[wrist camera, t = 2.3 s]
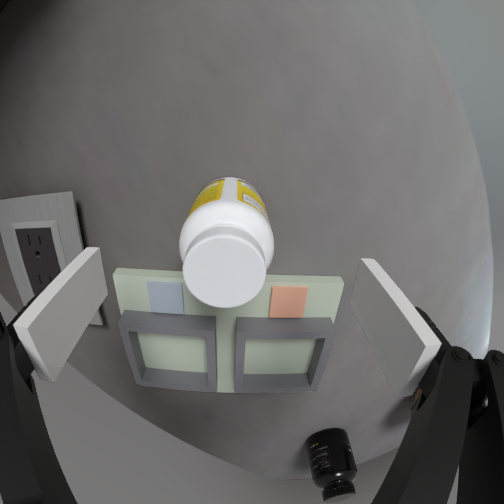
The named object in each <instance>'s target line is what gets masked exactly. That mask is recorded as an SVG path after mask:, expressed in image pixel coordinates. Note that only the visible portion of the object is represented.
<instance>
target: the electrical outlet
mask: <svg viewBox="0 0 504 504" xmlns="http://www.w3.org/2000/svg"><path fill="white" fill-rule="evenodd" d="M0 232H1V236H2V240H3V244H4V248H5V251H6V255H7V258H8V262H9V265H10V268H11V271H12V274H13V277H14V280H15V283H16V286H17V289H18V292H19V294H20V297H21V300H22V302H23V305H24V306H25V305H27V303H28V302H29V301H30V300H31V299H32V298H33V297H34V296H36V295H37V294H39V293H40V292H43V291H44V289H45V288H46V287H47V286H48V285H49V284H50V283H51V282H52V281H53V280H54V279H55V278H56V277H57V276H58V275H59V274H60V273H61V272H62V271H63V270H64V269H65V268H66V267H67V266H68V265H69V264H70V263H71V262H72V261H73V260H74V259H75V258H76V257H77V256H78V255H79V254H80V253H81V252H82V251H84V247H83V242H82V237H81V232H80V226H79V220H78V214H77V208H76V201H75V193H74V191H70V192H60V193H50V194H41V195H33V196H25V197H18V198H11V199H4V200H0ZM89 324H93V325H102V326H103V324H104V323H103V320H102V317H101V314H100V310H99V308H98V310H97V312H96V313H95V315H94V316H93V318H92V319H91V321H90V322H89Z"/></svg>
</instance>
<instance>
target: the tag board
mask: <svg viewBox="0 0 504 504" xmlns="http://www.w3.org/2000/svg"><path fill="white" fill-rule="evenodd" d="M113 279H114V284H115V289H116V294H117V299H118V303H119V308H120V312H121V318H120V320H119V322H118V326H119V329H120V333H121V337H122V340H123V344H124V347H125V351H126V354H127V358H128V361H129V364H130V367H131V370H132V373H133V376H134V379H135V382H136V384H137V385H143V386H150V387H159V388H167V389H177V390H189V391H203V392H223V393H287V392H307V391H316V390H317V388H318V385H319V382H320V379H321V376H322V373H323V371H324V368H325V365H326V362H327V359H328V356H329V352H330V349H331V346H332V343H333V340H334V336H335V333H336V329H335V327H334V325H333V324H334V320H335V317H336V313H337V309H338V306H339V302H340V298H341V294H342V290H343V286H344V282H343V280H342V278H341V277H340V276H302V275H266V279H265V282H264V285H263V287H262V289H261V290H260V292H259V293H258V294H257V296H255V297H254V298H253V299H252V300H251V301H249V302H247V303H245V304H243V305H240V306H237V307H232V308H219V307H214V306H210V305H208V304H205V303H203V302H201V301H200V300H198V299H197V298H196V297H195V296H194V295H193V294H192V293H191V292H190V291H189V289H188V288H187V286H186V284H185V281H184V278H183V271H165V270H146V269H128V268H117V269H116V271H115V272H114V273H113Z"/></svg>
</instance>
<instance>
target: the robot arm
mask: <svg viewBox="0 0 504 504" xmlns="http://www.w3.org/2000/svg"><path fill="white" fill-rule="evenodd" d="M6 1H7V0H0V10H1V9H2V7H3V6H4V5H5V3H6ZM107 295H108V292H107V287H106V282H105V277H104V271H103V266H102V260H101V254H100V248H97V247H87V248H86V249H85V250H84V251H82V252H81V253H80V254H79V255H78V256H77V257H76V258H75V259H74V260H73V261H72V262H71V263H70V264H69V265H68V266H67V267H66V268H65V269H64V270H63V271H62V272H61V273H60V274H59V275H58V276H57V277H56V278H55V279H54V280H53V281H52V282H51V283H50V284H49V285H48V286H47V287H46V288H45V289H44V291H43V292H40V293H39V294H37V295H36V296H34V297H33V298H32V299H31V300H30V301H29V302H28V303H27V305H25V306H24V307H23V309H22V311H20V312H19V313H18V314H17V315H16V316H15V318H14V319H13V320H12V321H11V322H10V323H9V325H8V326H6V324H5V322H4V320H3V317H2V315H1V312H0V494H1V497H2V500H3V504H77V502H76V500H75V498H74V496H73V494H72V492H71V490H70V488H69V486H68V483H67V481H66V479H65V476H64V474H63V472H62V469H61V467H60V465H59V462H58V460H57V457H56V455H55V452H54V449H53V446H52V444H51V441H50V438H49V435H48V432H47V428H46V425H45V422H44V419H43V415H42V412H41V408H40V404H39V400H38V396H37V392H36V388H35V384H34V380H33V378H32V376H31V373H32V371H33V370H34V369H35V371H36V373H37V374H38V376H39V378H40V379H42V380H45V381H48V382H51V383H54V382H55V380H56V379H57V377H58V375H59V373H60V371H61V370H62V368H63V366H64V364H65V362H66V361H67V359H68V357H69V355H70V354H71V352H72V350H73V349H74V347H75V345H76V344H77V342H78V340H79V339H80V337H81V335H82V334H83V332H84V330H85V329H86V327H87V326H88V324H89V322H90V321H91V319H92V318H93V316H94V315H95V313H96V312H97V310H98V308H99V307H100V305H101V304H102V302H103V301H104V299H105V298H106V296H107ZM350 306H351V308H352V310H353V312H354V314H355V316H356V318H357V319H358V321H359V323H360V325H361V327H362V329H363V331H364V333H365V335H366V337H367V339H368V341H369V343H370V345H371V347H372V349H373V351H374V353H375V355H376V357H377V359H378V361H379V363H380V365H381V367H382V369H383V371H384V373H385V375H386V377H387V379H388V382H389V384H390V386H391V388H392V390H393V392H394V394H395V397H396V399H397V398H402V397H407V396H411V395H412V394H413V393H414V391H415V390H416V388H417V387H418V385H419V387H420V389H421V391H422V392H421V394H420V395H419V397H418V398H417V400H416V401H415V403H414V404H413V406H412V407H411V410H413V409H414V407H415V409H414V412H413V414H412V417H411V420H410V423H409V425H408V428H407V430H406V433H405V435H404V438H403V440H402V443H401V445H400V447H399V450H398V452H397V454H396V457H395V459H394V461H393V463H392V465H391V467H390V469H389V471H388V473H387V475H386V477H385V479H384V482H383V483H382V485H381V487H380V489H379V491H378V493H377V494H376V496H375V498H374V500H373V502H372V503H371V504H447V501H448V498H449V495H450V492H451V489H452V486H453V482H454V479H455V476H456V472H457V468H458V465H459V479H458V493H457V503H456V504H504V354H503V353H501V352H500V351H497V350H490V351H488V353H487V354H486V356H485V358H484V359H473V357H472V356H471V354H470V353H469V352H468V351H467V350H465V349H463V348H461V347H457V346H451V345H450V344H449V342H448V341H447V340H446V338H445V337H444V336H443V334H442V333H441V332H440V330H439V329H438V328H436V325H435V324H434V323H433V322H432V320H431V319H430V318H429V316H428V315H427V314H426V313H425V312H424V311H422V310H421V309H420V308H418V307H414V306H413V305H412V304H411V303H410V301H409V300H408V299H407V298H406V296H405V295H404V294H403V293H402V291H401V290H400V289H399V288H398V287H397V285H396V284H395V283H394V282H393V281H392V279H391V278H390V277H389V276H388V275H387V273H386V272H385V271H384V270H383V269H382V268H381V266H380V265H379V264H378V263H377V262H376V261H375V260H374V259H362V258H361V260H360V264H359V269H358V273H357V277H356V281H355V285H354V289H353V293H352V296H351V300H350ZM487 399H488V405H487V407H486V405H485V401H486V400H487Z"/></svg>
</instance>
